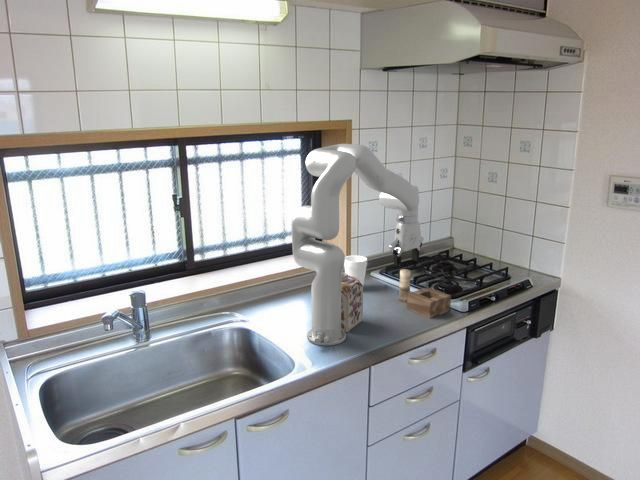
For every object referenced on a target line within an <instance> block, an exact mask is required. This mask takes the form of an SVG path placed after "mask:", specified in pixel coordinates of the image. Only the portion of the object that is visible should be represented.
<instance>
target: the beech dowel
mask: <svg viewBox="0 0 640 480" xmlns="http://www.w3.org/2000/svg"><path fill="white" fill-rule="evenodd" d="M398 285H399V288H398V289H399V290H398V302H401V303H407V295H408V293H411V269H407V268H402V269H400V270H399V283H398Z"/></svg>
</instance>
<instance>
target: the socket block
mask: <svg viewBox="0 0 640 480" xmlns="http://www.w3.org/2000/svg"><path fill="white" fill-rule="evenodd" d="M451 298H452V295H451V294H447V293H446V292H443V291H439V290H437V289H435V288H431V287H429V286H427V287H425V288H421V289H418V290H415V291H412V292H411V291H410V293H408V295H407V302H406V310H409V311H411V312H414V313H416V314H418V315H421V316H423V317H425V318H428V319H432V318H434V316H435V317H437V315H438V316H440V315H443V314H445V312H446V313H448V312H447V311H449V310H450V311H451V306H452V305H451V303H452V299H451ZM450 311H449V312H450ZM442 313H443V314H442ZM439 314H440V315H439Z"/></svg>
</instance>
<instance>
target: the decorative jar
mask: <svg viewBox="0 0 640 480" xmlns="http://www.w3.org/2000/svg"><path fill="white" fill-rule="evenodd" d="M363 315H364V286H363V285H362V284H361V283H360V281H359V280H357V279H356V278H355V277H353V276H348V274H347V273H345V271H344V272H342V282H341V329H342V330H343V331H344V332H345V333H349V332H350V331H351V330H352V329H354V328H355V327H357V326H358V325H359V324H360V323H361V322H362V321H363V318H364V317H363Z"/></svg>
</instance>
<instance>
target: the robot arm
mask: <svg viewBox="0 0 640 480" xmlns="http://www.w3.org/2000/svg"><path fill="white" fill-rule="evenodd" d="M305 168H306V170H307V172H308V173H309V175H311V176H314V177H318V179H317V180H316V181H315V183H314V185H313V187H312V190H311V193H310V194H311V195H310V196H311V197H310V199H311V200H310V205H301V206H299V208H297V209H296V210H295V212H294V213H293V215H292V219H291V244H292V245H291V246H292V247H291V248H292V256H293V260H294V262H295V264H297V266H300V267H302V268H305V269H307V270H311V271H313V272H316V274H315V277H314V278H313V280H312V282H311V287H310V288H311V289H310V290H311V292H310V294H311V297H310V298H311V329H310V330H308V331H307V334H306V337H307V340H308V341H309V342H310V343H312V344H314V345H318V346H325V347H327V346H335V345H339V344H341V343H343V342H344V341H346V338H347V334H346V333H347V332H344V331H343V330H342V329H341V282H342V272H343V271H344V268H345V267H344V263H345V257H346V256H345V252H344V251H343V249H342V248H341V247H340V246H338V245H335V244H334V243H331V242H326V241H331V240H334V239H336V238H337V237H338V234H339V232H340V196H341V191H342V189H343V186H345V184H346V182H348V180H349V178H351V177H352V175H353V174H354V173H355V175H356V176H358V178H360V180H361V181H362V182H363V183H364V184H365V186H367V187H369V188H370V189H372V190H374V191H377V192H379V195H378V196H379V197H378V201H379V203H380V205H381V206H383V207H384V208H387V209H392V210H397V211H396V212H397V214H396V215H397V217H396V224H395V230H394V238H393V242H392V243H390V244H389V246H388V248H389V250H390V252H391V254H392V256H393V265H394V266H396V267H399V268H400V267H401V266H402V256H401V254H402V252H407V251H411V260H413V261H416V262H419V261H420V251H421V248H422V246H423V242H424V239H425V238H424V237H423V236H421V234H422V233H421V226H420V221H419V204H420V196H419V195H420V193H419V192H420V189H419V187H418V186H417V185H413V184H411V182H409V181H408V180H407V179H405V178H404V177H402V176H400V175H399V174H397V173H395V172H393V170H390V169H388V168H387V167H386V166H385V165H384V164H383V163H382V161H381V160H380V159H379V158H378V157H377V155H375V153H374V152H373V151H372V150H371V149H370V148H369V146H366V145H364V144H354V143H338V144H333V145H328V146H325V147H318V148H314V149H313V150H311V151H310V152H309V153H308V155H307V156H306V158H305ZM317 239H319V240H317ZM320 240H321V241H320ZM323 240H324V241H323Z"/></svg>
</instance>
